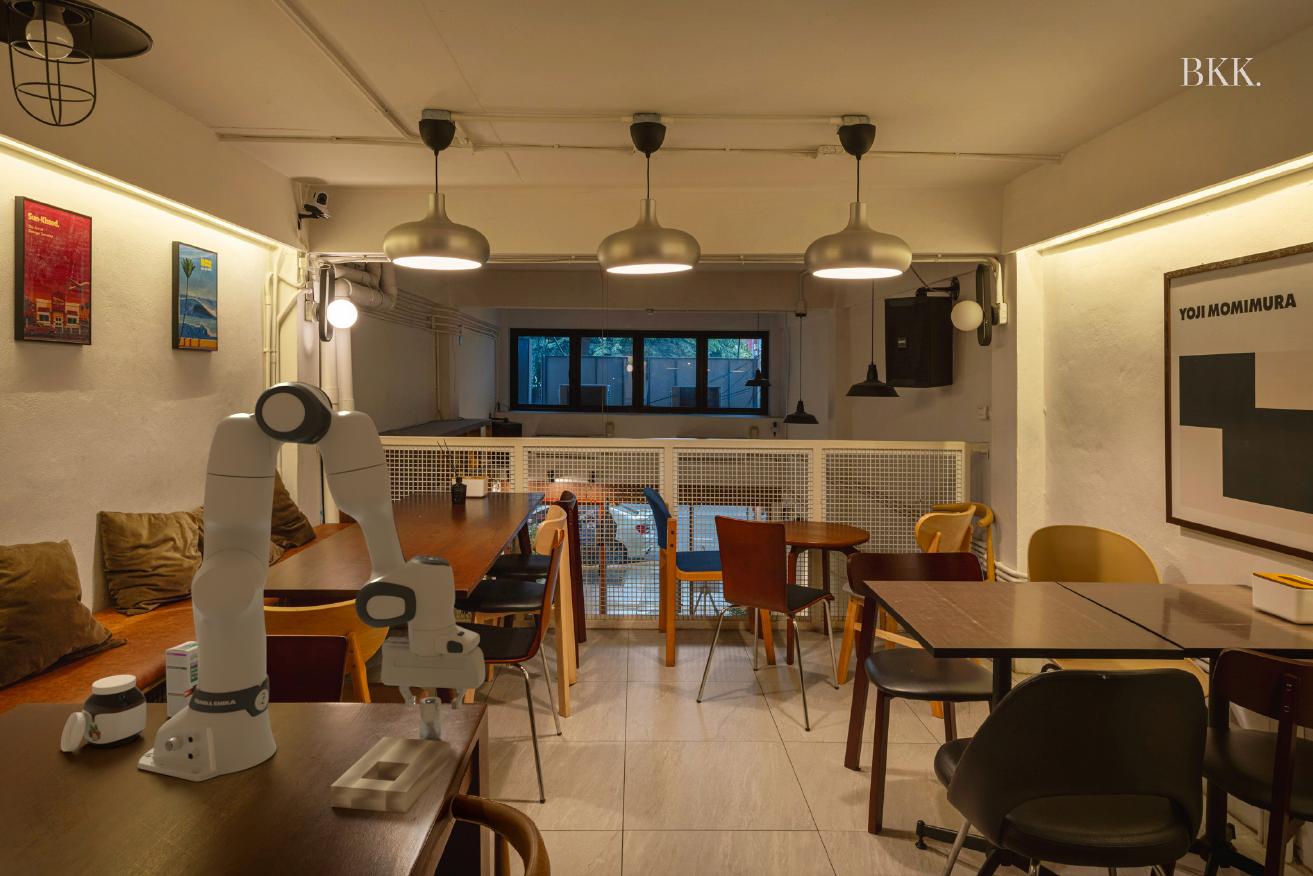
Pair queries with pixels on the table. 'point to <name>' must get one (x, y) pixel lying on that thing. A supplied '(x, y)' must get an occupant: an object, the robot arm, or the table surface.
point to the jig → (391, 775)
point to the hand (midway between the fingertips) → (433, 707)
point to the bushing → (430, 719)
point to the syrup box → (180, 675)
